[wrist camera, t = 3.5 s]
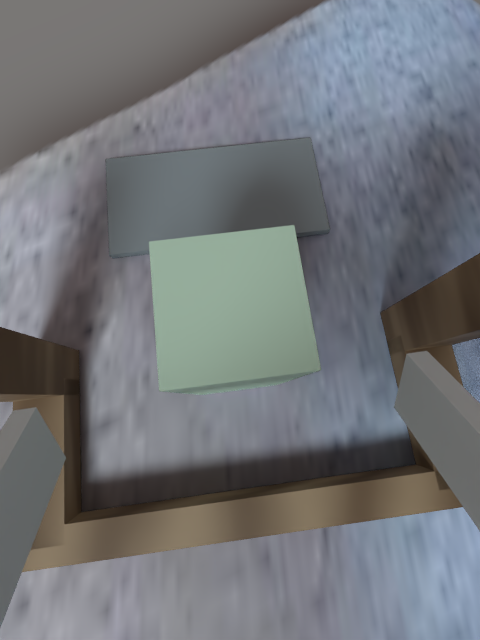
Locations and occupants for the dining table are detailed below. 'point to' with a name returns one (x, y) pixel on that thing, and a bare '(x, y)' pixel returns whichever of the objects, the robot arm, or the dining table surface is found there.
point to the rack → (245, 504)
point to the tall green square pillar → (231, 311)
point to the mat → (212, 193)
